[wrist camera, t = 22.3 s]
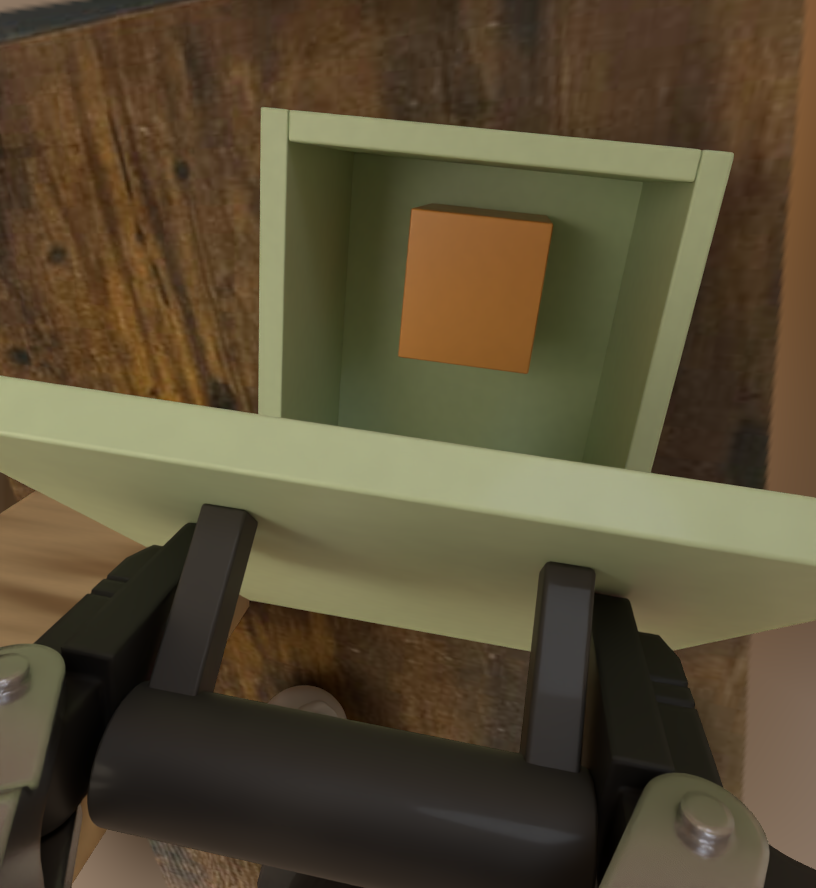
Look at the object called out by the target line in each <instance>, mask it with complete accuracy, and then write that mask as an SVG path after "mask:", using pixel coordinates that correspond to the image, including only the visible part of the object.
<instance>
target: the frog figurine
mask: <svg viewBox="0 0 816 888" xmlns="http://www.w3.org/2000/svg"><path fill="white" fill-rule="evenodd" d="M268 704H273V705H278V706H283V707H288V708H293V709H298V710H303V711H308V712H313V713H318V714H323V715H328V716H333V717H338V718H343V719H347V718H346V715H345V712H344V710H343V708H342V707H341V705H340V703H339V702H338V701H337V700H336V699H335V698H334V697H333V696H332V695H331V694H330V693H328V692H327V691H325V690H323V689H321V688H318V687H315V686H309V685H299V686H294V687H290V688H287V689H285V690H283V691H281V692H280V693H278V694H277V695H275V696H274V697H273V698H272V699H271V700H270V701H269V702H268Z"/></svg>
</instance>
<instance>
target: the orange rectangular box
mask: <svg viewBox="0 0 816 888" xmlns="http://www.w3.org/2000/svg"><path fill="white" fill-rule="evenodd" d="M552 231H553V223H552V222H551V220H550V219H549V218H548V216H546V215H539V214H529V213H520V212H510V211H501V210H492V209H482V208H473V207H463V206H454V205H445V204H435V203H431V204H427V205H423V206H419V207H415V208H412V209H411V215H410V226H409V237H408V249H407V260H406V271H405V282H404V293H403V304H402V316H401V327H400V338H399V349H398V356H399V357H402V358H409V359H417V360H424V361H432V362H439V363H447V364H454V365H462V366H469V367H477V368H484V369H492V370H499V371H507V372H514V373H522V374H528V372H529V367H530V361H531V355H532V349H533V343H534V337H535V331H536V326H537V320H538V314H539V308H540V302H541V296H542V290H543V284H544V279H545V273H546V267H547V261H548V255H549V249H550V243H551V237H552Z"/></svg>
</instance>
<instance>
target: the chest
mask: <svg viewBox="0 0 816 888" xmlns="http://www.w3.org/2000/svg"><path fill="white" fill-rule="evenodd" d="M733 158H734V154H733V153H732V152H723V151H713V150H702V151H701V150H699V149H692V148H681V147H671V146H661V145H650V144H640V143H629V142H619V141H609V140H598V139H588V138H577V137H567V136H557V135H546V134H536V133H526V132H515V131H505V130H494V129H484V128H474V127H463V126H453V125H442V124H432V123H422V122H411V121H401V120H391V119H380V118H370V117H359V116H349V115H339V114H328V113H318V112H307V111H297V110H291V111H290V110H287V109H277V108H267V107H262V108H261V162H260V277H259V393H258V414H260V415H267V416H273V417H280V418H287V419H294V420H300V421H307V422H314V423H320V424H327V425H334V426H340V427H347V428H354V429H360V430H367V431H374V432H380V433H387V434H394V435H401V436H407V437H414V438H421V439H427V440H434V441H441V442H447V443H454V444H461V445H467V446H474V447H481V448H487V449H494V450H501V451H508V452H514V453H521V454H528V455H534V456H541V457H548V458H554V459H561V460H568V461H574V462H581V463H588V464H594V465H601V466H608V467H615V468H621V469H628V470H635V471H641V472H648V473H651V469H652V465H653V462H654V458H655V454H656V450H657V446H658V443H659V439H660V435H661V431H662V427H663V424H664V420H665V416H666V412H667V408H668V405H669V401H670V397H671V393H672V390H673V386H674V382H675V378H676V374H677V371H678V367H679V363H680V359H681V355H682V352H683V348H684V344H685V340H686V336H687V333H688V329H689V325H690V321H691V317H692V314H693V310H694V306H695V302H696V298H697V295H698V291H699V287H700V283H701V280H702V276H703V272H704V268H705V264H706V261H707V257H708V253H709V249H710V245H711V242H712V238H713V234H714V230H715V226H716V223H717V219H718V215H719V211H720V207H721V204H722V200H723V196H724V192H725V188H726V185H727V181H728V177H729V173H730V170H731V166H732V162H733ZM431 203H435V204H445V205H454V206H463V207H473V208H482V209H492V210H501V211H510V212H520V213H529V214H539V215H546V216H548V218H549V219H550V220H551V222H552V223H553V231H552V237H551V243H550V249H549V255H548V261H547V267H546V273H545V279H544V284H543V290H542V296H541V302H540V308H539V314H538V320H537V326H536V331H535V337H534V343H533V349H532V355H531V361H530V367H529V372H528V374H522V373H514V372H507V371H499V370H492V369H484V368H477V367H469V366H462V365H454V364H447V363H439V362H432V361H424V360H417V359H409V358H402V357H399V356H398V349H399V338H400V327H401V316H402V304H403V293H404V282H405V271H406V260H407V249H408V237H409V226H410V215H411V209H412V208H415V207H419V206H423V205H427V204H431Z"/></svg>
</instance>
